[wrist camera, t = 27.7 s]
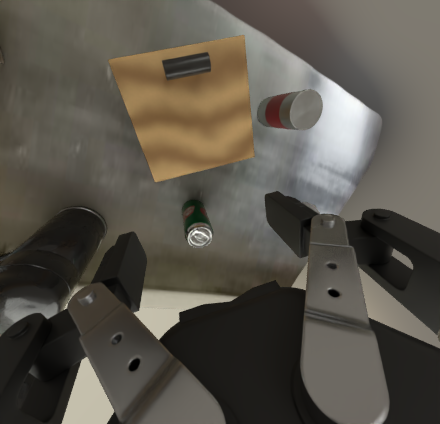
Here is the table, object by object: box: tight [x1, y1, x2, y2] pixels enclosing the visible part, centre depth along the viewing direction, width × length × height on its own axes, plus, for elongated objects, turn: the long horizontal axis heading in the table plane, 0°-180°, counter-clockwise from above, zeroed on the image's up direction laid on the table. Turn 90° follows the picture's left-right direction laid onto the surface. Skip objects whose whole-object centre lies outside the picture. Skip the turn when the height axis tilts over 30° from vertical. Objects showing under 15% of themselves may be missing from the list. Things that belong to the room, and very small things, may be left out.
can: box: [257, 89, 323, 130], centre depth 33 cm, size 5×5×12 cm
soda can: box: [182, 200, 213, 248], centre depth 39 cm, size 5×5×12 cm
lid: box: [108, 35, 255, 182], centre depth 25 cm, size 15×17×5 cm
